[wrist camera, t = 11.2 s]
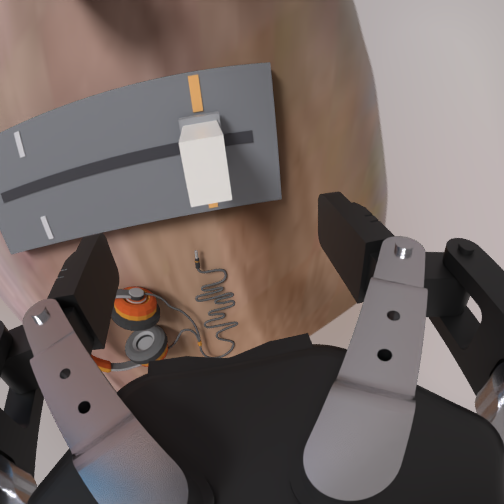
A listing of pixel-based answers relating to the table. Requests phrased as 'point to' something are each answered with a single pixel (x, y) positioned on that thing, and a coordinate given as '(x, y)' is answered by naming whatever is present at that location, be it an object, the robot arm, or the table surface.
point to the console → (133, 156)
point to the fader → (204, 159)
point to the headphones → (154, 324)
